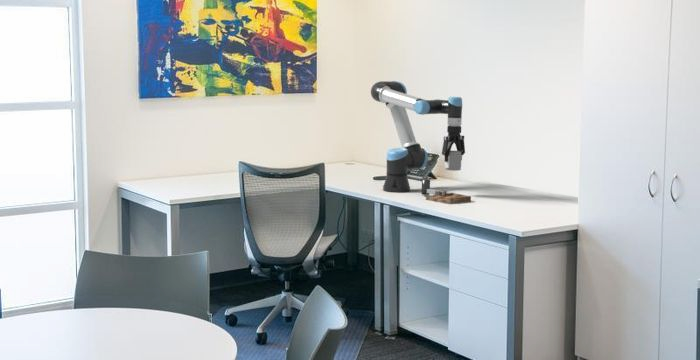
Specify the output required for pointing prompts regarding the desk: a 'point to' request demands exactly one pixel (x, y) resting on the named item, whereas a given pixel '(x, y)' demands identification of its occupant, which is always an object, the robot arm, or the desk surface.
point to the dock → (449, 198)
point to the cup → (454, 161)
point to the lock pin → (427, 190)
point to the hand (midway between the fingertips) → (453, 167)
